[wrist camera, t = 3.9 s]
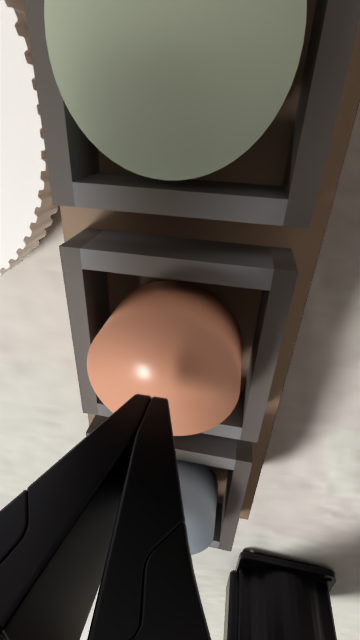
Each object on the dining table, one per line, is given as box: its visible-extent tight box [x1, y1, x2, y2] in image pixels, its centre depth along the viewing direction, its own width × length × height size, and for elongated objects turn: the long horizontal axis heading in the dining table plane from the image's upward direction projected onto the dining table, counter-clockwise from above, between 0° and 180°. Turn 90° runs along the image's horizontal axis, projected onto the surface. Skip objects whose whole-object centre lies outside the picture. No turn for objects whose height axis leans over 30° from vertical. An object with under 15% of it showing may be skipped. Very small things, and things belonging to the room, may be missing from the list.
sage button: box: [44, 0, 307, 181], centre depth 7 cm, size 4×4×2 cm
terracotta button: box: [87, 280, 242, 436], centre depth 10 cm, size 4×4×2 cm
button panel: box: [24, 0, 360, 551], centre depth 13 cm, size 8×22×5 cm, turn 177°
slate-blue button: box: [177, 460, 218, 555], centre depth 14 cm, size 4×4×2 cm
